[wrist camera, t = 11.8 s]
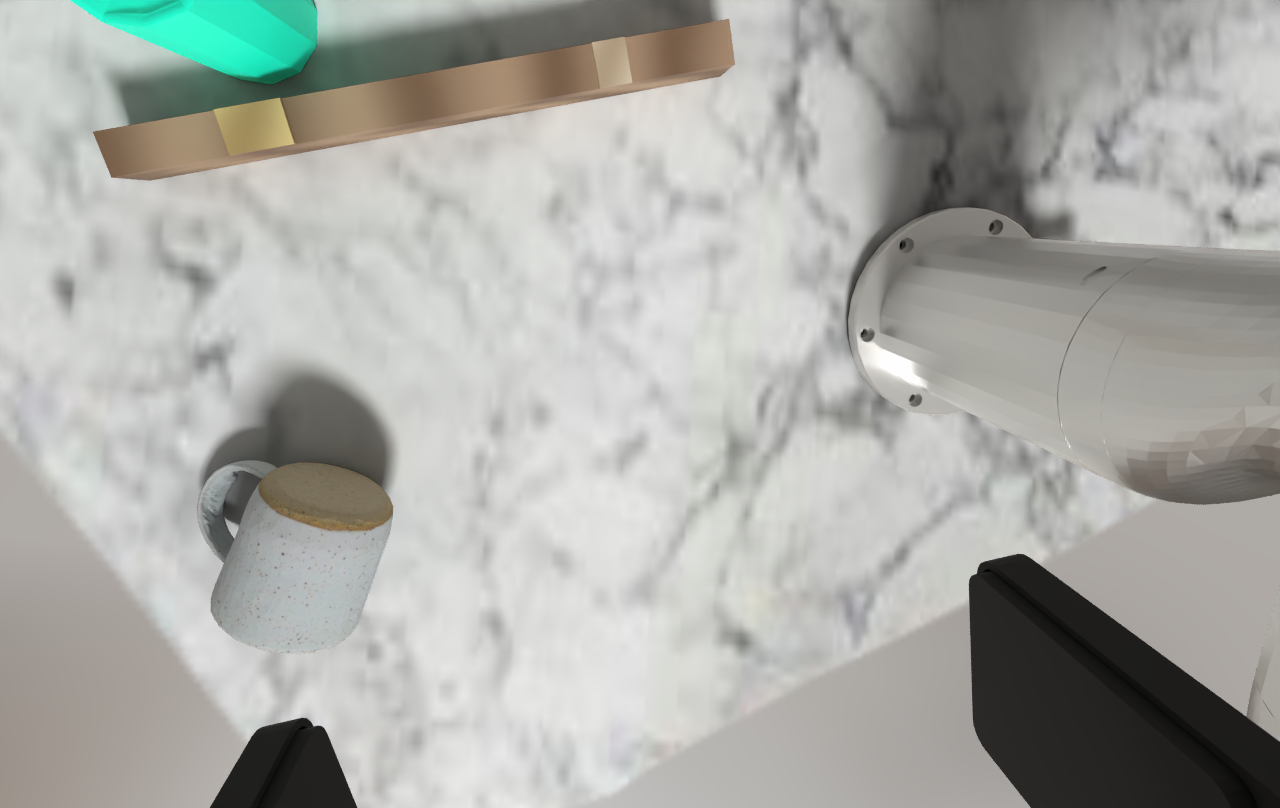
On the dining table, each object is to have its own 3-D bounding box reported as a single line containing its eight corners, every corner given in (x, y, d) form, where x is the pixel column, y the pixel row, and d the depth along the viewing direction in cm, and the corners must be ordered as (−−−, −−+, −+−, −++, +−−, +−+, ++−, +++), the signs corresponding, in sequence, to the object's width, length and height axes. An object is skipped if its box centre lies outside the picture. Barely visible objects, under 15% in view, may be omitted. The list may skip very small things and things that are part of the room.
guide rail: (714, 35, 34) (730, 17, 31) (720, 76, 35) (735, 63, 32) (133, 139, 32) (90, 131, 29) (150, 180, 33) (108, 177, 30)
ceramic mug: (413, 481, 39) (378, 541, 32) (373, 594, 41) (331, 676, 34) (231, 421, 37) (148, 471, 30) (197, 543, 39) (110, 618, 32)
